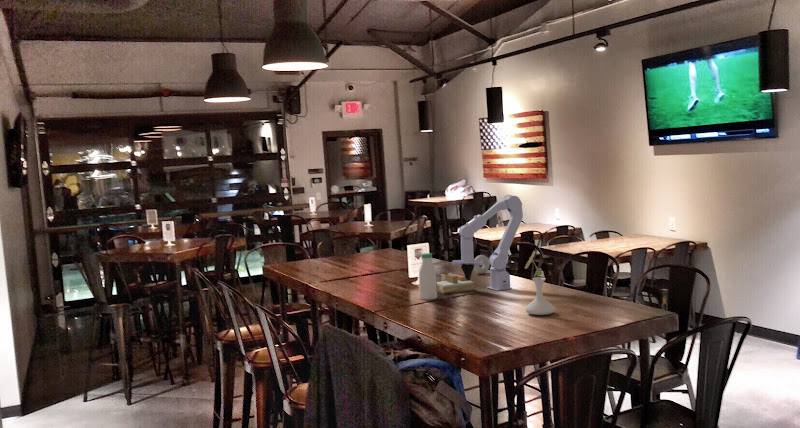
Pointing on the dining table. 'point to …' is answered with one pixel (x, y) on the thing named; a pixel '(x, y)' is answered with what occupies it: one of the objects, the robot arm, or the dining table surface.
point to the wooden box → (455, 288)
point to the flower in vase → (538, 295)
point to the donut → (485, 264)
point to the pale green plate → (453, 281)
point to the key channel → (444, 277)
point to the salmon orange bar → (460, 277)
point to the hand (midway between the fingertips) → (468, 280)
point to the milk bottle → (427, 278)
